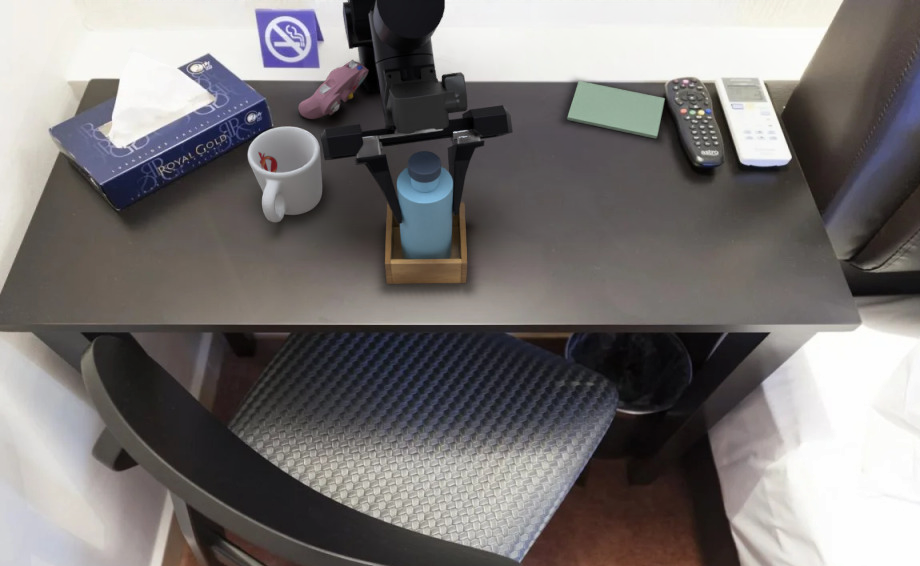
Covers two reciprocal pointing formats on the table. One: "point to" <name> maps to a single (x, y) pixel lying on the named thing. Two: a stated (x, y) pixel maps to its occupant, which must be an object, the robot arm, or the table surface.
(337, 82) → the pink toy car
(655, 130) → the mat
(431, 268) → the open wooden box
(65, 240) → the table surface
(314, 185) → the cup
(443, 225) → the bottle
